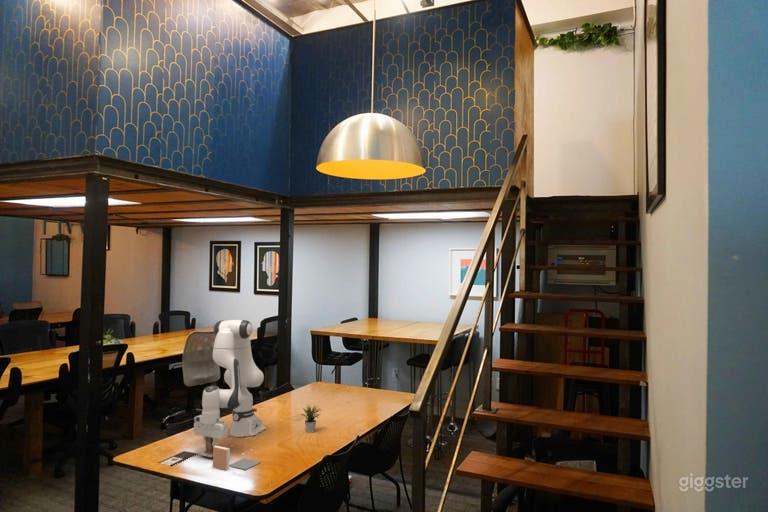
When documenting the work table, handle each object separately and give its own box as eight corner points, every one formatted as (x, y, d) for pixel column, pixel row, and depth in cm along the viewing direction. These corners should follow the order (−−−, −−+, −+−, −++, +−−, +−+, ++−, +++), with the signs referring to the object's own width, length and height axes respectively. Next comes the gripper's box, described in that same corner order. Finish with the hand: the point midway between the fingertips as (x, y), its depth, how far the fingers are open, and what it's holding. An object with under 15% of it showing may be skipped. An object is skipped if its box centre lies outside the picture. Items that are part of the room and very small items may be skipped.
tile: (215, 466, 242) (216, 445, 242) (229, 469, 238) (229, 448, 238) (212, 467, 240) (213, 446, 241) (226, 470, 236) (226, 449, 237)
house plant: (317, 436, 289) (317, 408, 290) (295, 434, 292) (296, 407, 293) (325, 429, 303) (325, 402, 304) (303, 427, 306) (304, 401, 307)
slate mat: (243, 459, 251) (243, 458, 251) (260, 463, 247) (260, 462, 247) (228, 466, 241) (228, 465, 242) (245, 470, 237) (245, 469, 237)
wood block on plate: (208, 450, 258) (209, 426, 259) (220, 453, 255) (220, 428, 255) (199, 454, 253) (200, 429, 253) (211, 457, 249) (212, 432, 250)
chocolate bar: (197, 453, 257) (172, 465, 240) (197, 455, 257) (172, 467, 240) (184, 451, 260) (157, 462, 244) (183, 452, 260) (157, 464, 243)
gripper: (230, 419, 253) (229, 446, 252) (201, 414, 262) (200, 440, 261) (221, 422, 247) (220, 450, 247) (191, 417, 256) (191, 443, 255)
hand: (210, 445), depth 254 cm, fingers closed on wood block on plate, 3 cm apart
